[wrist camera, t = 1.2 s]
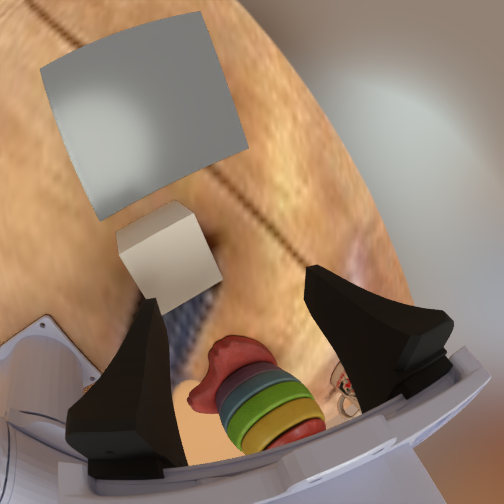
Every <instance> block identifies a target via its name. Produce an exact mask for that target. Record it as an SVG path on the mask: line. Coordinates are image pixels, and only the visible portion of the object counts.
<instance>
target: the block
mask: <svg viewBox="0 0 504 504" xmlns="http://www.w3.org/2000/svg"><path fill="white" fill-rule="evenodd" d="M116 239H117V246H118V253H119V256H120V258H121V259H122V261H123V263H124V264H125V266H126V268H127V269H128V271H129V273H130V274H131V276H132V278H133V279H134V281H135V283H136V284H137V286H138V287H139V289H140V290H141V292H142V294H143V295H144V297H145V298H146V299H150V298H155V297H156V300H157V303H158V306H159V309H160V312H161V315H164V314H165V313H167V312H169V311H171V310H172V309H174V308H176V307H177V306H179V305H181V304H182V303H184V302H186V301H188V300H189V299H191V298H193V297H194V296H196V295H198V294H199V293H201V292H203V291H205V290H206V289H208V288H210V287H211V286H213V285H215V284H216V283H218V282H220V281H221V280H223V277H222V275H221V273H220V271H219V269H218V267H217V264H216V262H215V260H214V258H213V255H212V253H211V251H210V249H209V246H208V244H207V242H206V240H205V237H204V235H203V233H202V231H201V228H200V226H199V224H198V221H197V219H196V217H195V214H194V213H193V212H192V211H190V210H189V209H187V208H186V207H184V206H183V205H181V204H180V203H178V202H177V201H176V200H173V201H171V202H169V203H167V204H165V205H163V206H161V207H160V208H158V209H156V210H154V211H152V212H150V213H148V214H146V215H145V216H143V217H141V218H139V219H137V220H136V221H134V222H132V223H130V224H128V225H127V226H125V227H123V228H121V229H120V230H118V231H116Z"/></svg>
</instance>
